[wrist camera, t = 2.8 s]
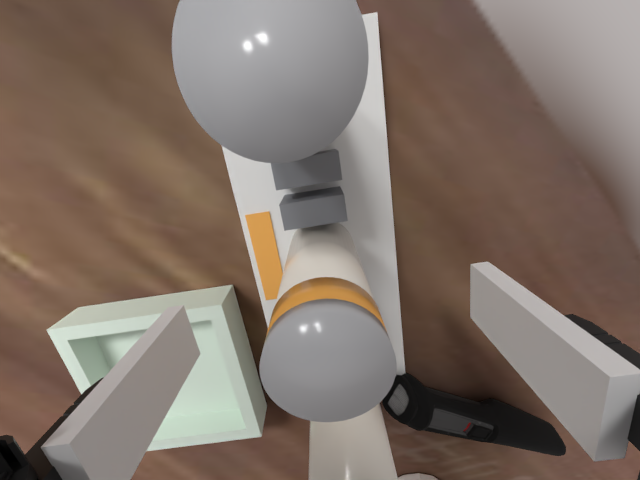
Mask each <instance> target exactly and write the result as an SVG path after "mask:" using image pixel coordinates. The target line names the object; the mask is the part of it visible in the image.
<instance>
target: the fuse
mask: <svg viewBox="0 0 640 480" xmlns="http://www.w3.org/2000/svg"><path fill="white" fill-rule="evenodd" d="M309 480H398V477H397V473H396V469H395V465H394V461H393V456H392V452H391V448H390V444H389V440H388V435H387V431H386V427H385V423H384V419H383V414H382V410H381V406H380V403H379V404H377V405H376V406H375V407H374V408H372V409H371V410H369V411H368V412H366V413H364V414H362V415H360V416H357V417H355V418H352V419H348V420H344V421H338V422H316V421H310V444H309Z"/></svg>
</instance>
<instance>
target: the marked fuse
mask: <svg viewBox="0 0 640 480" xmlns="http://www.w3.org/2000/svg"><path fill="white" fill-rule="evenodd" d="M259 367H260V377H261V381H262V384H263V387H264V389H265V391H266V392H267V394H268V395H269V397H270V398H271V399H272V400H273V401H274V402H275V403H276V404H277V405H278V406H279V407H280V408H282V409H283V410H285V411H286V412H288V413H290V414H292V415H294V416H296V417H299V418H302V419H305V420H310V421H316V422H338V421H344V420H348V419H352V418H355V417H357V416H360V415H362V414H364V413H366V412H368V411H369V410H371V409H372V408H374V407H375V406H376V405H377V404H379V403H380V402H381V401H382V400H383V399H384V397H385V396H386V395H387V394H388V392H389V391H390V389H391V387H392V385H393V383H394V379H395V376H396V370H397V362H396V356H395V353H394V350H393V347H392V344H391V342H390V339H389V336H388V333H387V331H386V328H385V325H384V322H383V320H382V317H381V314H380V311H379V308H378V306H377V304H376V302H375V301H374V298H373V295H372V293H371V290H370V287H369V284H368V281H367V278H366V276H365V273H364V270H363V267H362V264H361V262H360V259H359V256H358V253H357V250H356V247H355V245H354V242H353V239H352V236H351V235H350V233H349V231H348V230H347V229H346V228H345V227H344V226H343V225H341V224H340V223H332V224H325V225H319V226H312V227H306V228H299V229H297V231H296V232H295V233H294V235H293V237H292V239H291V243H290V247H289V251H288V255H287V259H286V263H285V267H284V271H283V275H282V280H281V284H280V288H279V292H278V296H277V300H276V304H275V307H274V309H273V312H272V315H271V319H270V323H269V327H268V331H267V335H266V339H265V343H264V347H263V351H262V355H261V359H260V366H259Z"/></svg>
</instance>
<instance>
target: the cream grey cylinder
mask: <svg viewBox="0 0 640 480" xmlns="http://www.w3.org/2000/svg"><path fill="white" fill-rule="evenodd" d="M172 57H173V66H174V70H175V75H176V79H177V82H178V85H179V88H180V91H181V94H182V96H183V98H184V100H185V102H186V104H187V106H188V108H189V110H190V111H191V113H192V115H193V116H194V118H195V119H196V120H197V122H198V123H199V124H200V125H201V127H202V128H203V129H204V130H205V131H206V132H207V133H208V134H209V135H210V136H211V137H212V138H213V139H214V140H216V141H217V142H218V143H219V144H221V145H222V146H223V147H225V148H227V149H228V150H230V151H231V152H233V153H235V154H238V155H240V156H242V157H244V158H248V159H251V160H254V161H259V162H265V163H287V162H293V161H297V160H301V159H304V158H306V157H309V156H311V155H313V154H315V153H317V152H319V151H321V150H322V149H324V148H325V147H326V146H328V145H329V144H330V143H332V142H333V141H334V140H335V139H336V138H337V137H338V136H339V135H340V134H341V133H342V132H343V130H344V129H345V128H346V127H347V125H348V124H349V122H350V121H351V119H352V118H353V116H354V114H355V112H356V110H357V108H358V106H359V104H360V102H361V99H362V95H363V92H364V89H365V85H366V80H367V75H368V63H369V53H368V41H367V34H366V29H365V25H364V21H363V17H362V14H361V12H360V9H359V7H358V4H357V2H356V0H180V1H179V4H178V7H177V10H176V14H175V18H174V24H173V31H172Z"/></svg>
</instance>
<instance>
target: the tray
mask: <svg viewBox="0 0 640 480" xmlns="http://www.w3.org/2000/svg"><path fill="white" fill-rule="evenodd" d="M181 305H184V307H185V310H186V313H187V316H188V319H189V322H190V325H191V328H192V330H193V333H194V336H195V339H196V342H197V345H198V348H199V351H200V356H199V357H198V359H197V361H196V363H195V365H194V366H193V368H192V370H191V372H190V373H189V375H188V377H187V379H186V381H185V382H184V384H183V386H182V388H181V390H180V391H179V393H178V395H177V397H176V399H175V400H174V402H173V404H172V406H171V408H170V409H169V411H168V413H167V415H166V417H165V418H164V420H163V422H162V424H161V426H160V427H159V429H158V431H157V433H156V435H155V436H154V438H153V440H152V442H151V444H150V445H149V447H148V449H147V451H152V450H160V449H168V448H176V447H184V446H192V445H200V444H208V443H216V442H223V441H231V440H239V439H247V438H255V437H262V431H263V426H264V420H265V415H266V410H267V404H266V400H265V397H264V393H263V390H262V386H261V383H260V379H259V376H258V372H257V369H256V365H255V362H254V358H253V354H252V351H251V347H250V344H249V340H248V337H247V333H246V330H245V326H244V323H243V319H242V316H241V312H240V308H239V305H238V301H237V298H236V294H235V291H234V287H233V285H227V286H220V287H213V288H206V289H200V290H193V291H186V292H179V293H172V294H166V295H159V296H152V297H145V298H138V299H132V300H125V301H118V302H111V303H104V304H98V305H91V306H84V307H78V308H77V309H75V310H74V311H72V312H71V313H70V314H68V315H67V316H65V317H64V318H63V319H61V320H60V321H58V322H57V323H56V324H54V325H53V326H51V327H50V328H49V329H47V332H48V334H49V335H50V337H51V339H52V341H53V343H54V345H55V346H56V348H57V350H58V352H59V354H60V356H61V358H62V359H63V361H64V363H65V365H66V367H67V369H68V370H69V372H70V374H71V376H72V378H73V380H74V381H75V383H76V385H77V387H78V389H79V391H80V392H81V394H82V393H83V392H84V391H85V390H86V389H88V388H89V387H90V386H92V385H93V384H94V383H96V382H97V381H98V380H100V379H101V378H104V377H105V376H106V375H107V374H108V373H109V371H110V370H111V369H112V368H113V367H114V366H115V365H116V364H117V363H118V362H119V360H120V359H121V358H122V357H123V356H124V355H125V354H126V353H127V352H128V351H129V349H130V348H131V347H132V346H133V345H134V344H135V343H136V342H137V341H138V340H139V338H140V337H141V336H142V335H143V334H144V333H145V332H146V331H147V330H148V329H149V327H150V326H151V325H152V324H153V323H154V322H155V321H156V320H157V319H158V318H159V316H160V315H161V314H162V313H163V312H164V311H165V310H166V309H167V308H168V307H174V306H181Z"/></svg>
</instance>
